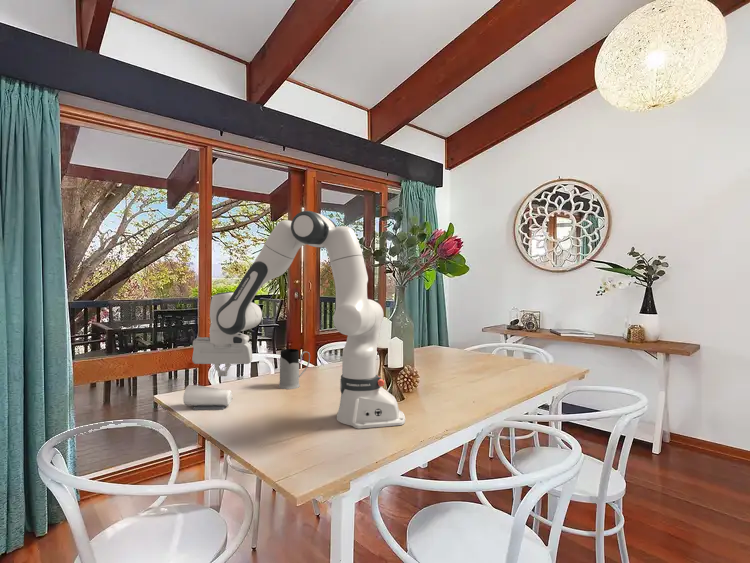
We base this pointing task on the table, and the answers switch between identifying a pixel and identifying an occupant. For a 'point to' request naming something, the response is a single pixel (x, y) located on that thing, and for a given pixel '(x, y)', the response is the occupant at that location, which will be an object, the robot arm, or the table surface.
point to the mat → (209, 407)
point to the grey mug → (290, 368)
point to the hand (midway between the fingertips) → (222, 376)
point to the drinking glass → (206, 396)
